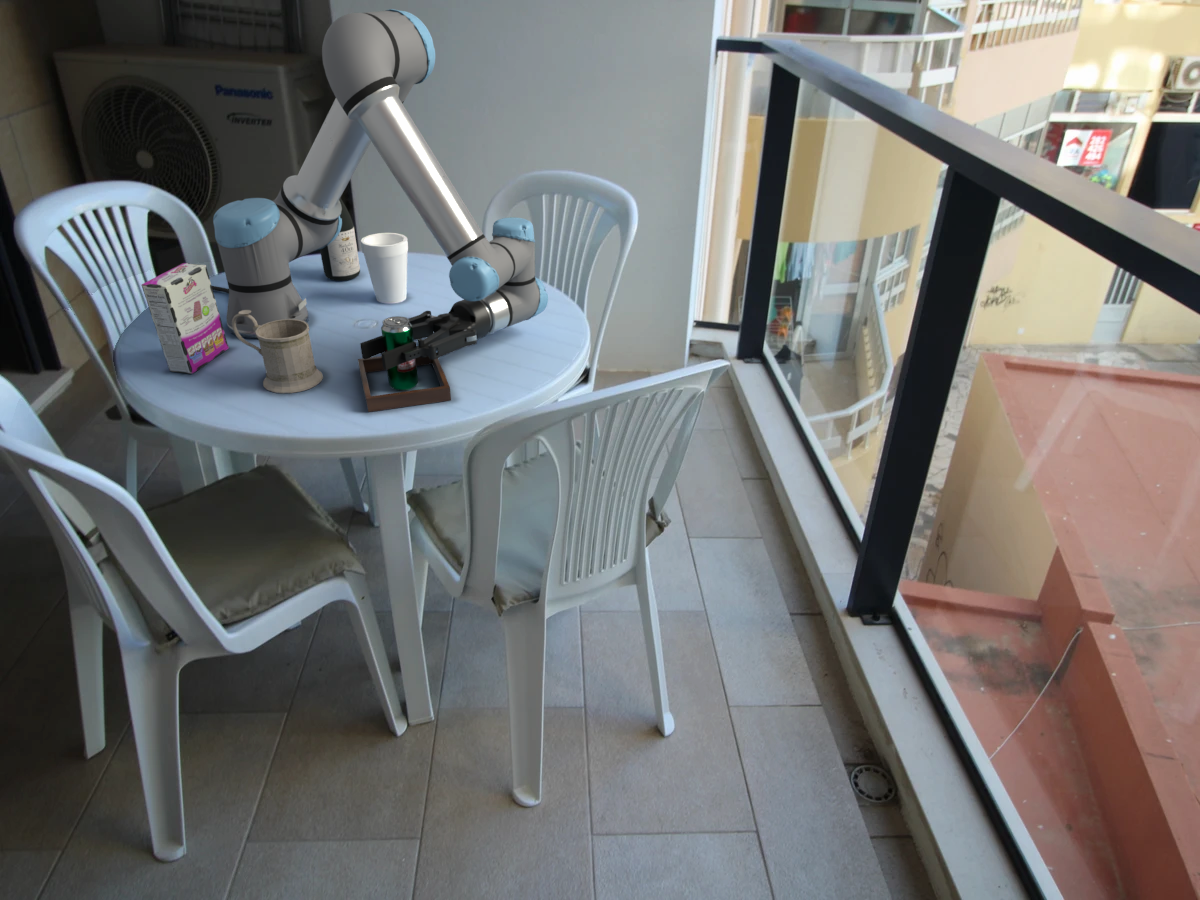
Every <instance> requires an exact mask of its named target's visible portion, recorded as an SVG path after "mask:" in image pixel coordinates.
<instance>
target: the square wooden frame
mask: <svg viewBox="0 0 1200 900" xmlns="http://www.w3.org/2000/svg"><path fill="white" fill-rule="evenodd" d="M439 360H440V359H439V358H437V359H434V360H431V359H429V356H427V357H425V358H421V357H418V358H416V363H417V367H419V366H426V365H427V366H428V365H432V367H433V370H434V373H435V375H436V378H437V380H438V382H439V383H438V384H439V385H440V386H435V387H428V388H420V389H411V390H406V391H399V392H398V391H397V392H392V393H385V394H378V395H371V391H370V387H369V382H368V378H367V373H373V372H383V371H386V370H385V369H383V363H382V356H381V355H380V356H379V355H377V356H373V357H370V358H368V359H363V358H362V357H361V358H357V364H358V369H359V375H360V380H361V384H362V388H363V393H364V394H363V395H364V398H365V402H366V407H367V408H366V409H367V412H368V413H373V412H381V411H385V410H386V411H387V410H393V409H400V408H406V407H414V406H422V405H428V404H435V403H442V402H447V401H448V402H449V401H452V394H451V393H452V392H451V387H450V386H451V385H450V384H449V381H448V379H447V377H446V374H445V371H444V369H443V367H442V364H441V363H440V361H439Z"/></svg>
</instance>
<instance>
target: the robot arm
mask: <svg viewBox="0 0 1200 900" xmlns="http://www.w3.org/2000/svg"><path fill="white" fill-rule="evenodd" d="M321 46H322V47H321V48H322V49H321V55H322V56H321V57H322V66H323V69H324V73H325V77H326V79H327V81H328V84H329V87H330V89H331V91H332V93H333V95H334V97H335V99H334V101H333V102H332V105H331V107H330V109H329V111H328V112H327V114H326V117H325V119H324V121H323V123H322V125H321V127H320V129H319V131H318V132H317V135H316V137H315V139H314V140H315V141H314V140H313V143H312V145H311V147H310V149H309V151H308V153H307V155H306V157H305V159H304V161H303V163H302V165H301V167H300V169H299V172H298V174H295V175H290V176H287V178H286V179H285V180H284V181H283V183H282V186H281V187H280V189H279V192H278V194H277V196H276V198H274V199H272V200H271V199H270V198H269V199H268V198H264V197H250V198H248V197H247V198H244V199H243V200H239V199H238V200H234V201H231V202H228V203H226V204H224V205H223V206H221V207H219V208H218V209H217V210H216V211H215V213H214V214H213V218H212V222H213V223H212V224H213V228H214V239H215V240H216V244H217V248H218V251H219V255H220V258H221V263H222V266H223V270H224V275H225V279H226V283H227V287H228V288H227V287H222V286H216V285H215V286H214V285H212V289H213V291H215V292H222V293H226V294H228V300H227V308H226V309H227V310H226V324H227V329H228V331H229V332H230V333H231V334H232V335H235V336H236V334H235V332H234V330H233V327H232V319H233V317H234V316H235V315H237V314H239V313H238V312H240V311H242V310H250V311H251V313H249V315H251V316H252V317H254V318H255V320H256V321H257V324H258V325H263V324H266V323H268V322H272V321H276V320H283V319H295V320H301V321H304V322H306V323H307V324H309V321H310V316H309V311H308V308H307V304H308V303H307V302H308V301H307V298H304V299H302V297H301V296H300V294H299V292H298V290H297V288H296V287H295V285H294V283H293V279H292V278H293V277H292V274H291V269H290V264H289V263H291V262H294V261H296V260H298V259H299V258H302V257H304V256H306V255H308V254H310V253H313V252H316V251H320V249H322V248H324V247H326V246H327V245H329V244H330V243H331V242H332V241H334V240H335V239H336V237H337V236H338V234H339V233H340V230H341V226H342V219H341V218H340V214H341V210H342V207H341V203H340V201H339V199H340V198H342V196H343V193H344V191H345V190H346V188H347V186H348V184H349V183H350V181H351V179H352V177H353V176H354V174H355V172H356V170H357V168H358V166H359V165H360V163H361V161H362V159H363V157H364V155H365V154H366V152H367V149H368V148H369V146H370V144H371V143H372V144H373V146H374V147H375V149H376V150H377V152H378V154H379V155H380V157H381V159H382V160H383V162H384V163H385V164H386V166H387V168H388V169H389V171H390V172H391V174H392V175H393V177H394V178H395V180H396V181H397V183H398V185H399V186H400V187H401V189H402V191H403V192H404V194H405V195H406V196H407V198H408V200H409V201H410V203H411V205H412V206H413V208H414V210H415V211H416V212H417V214H418V215H419V217H420V219H421V220H422V222H423V223H424V224H425V227H427V230H428V231H429V232H430V234H431V235H432V236H433V238H434V240H435V241H436V243H437V245H438V246H439V248H440V250H441V251H442V252H443V254H444V255H445V257H446V258H447V260H448V262H449V263H450V265H451V267H450V268H449V269H450V270H449V273H448V278H449V282H450V287H451V289H452V291H453V292H454V293H455V294H456V295H457V297H459V298H461V299H462V300H459V301H456V302H454V304H453V305H452V306H451V308H450V310H449V312H446V313H445V312H444V313H439V314H438V315H432V311H431V310H425V311H423V312H421V313H420V314H418V315H415V316H412V317H408V319H409V322H410V324H411V325H412V328H413V337H414V341H413V342H410V343H408V344H405V345H402V346H400V347H397V348H394V349H392V350H389V351H386V352H384V346H383V339H382V335H379V336H377V337H374V338H371V339H368V340H366V341H363V342H360V343H359V345H360V353H361V359H362V358H363V359H368V358H370V357H377V356H379V355H380V356H382V363H383V369H385V370H384V371H387V369H390V368H392V367H395V366H397V365H400V364H402V363H405V362H407V361H410V360H413V359H415V358H418V357H421V358H425V357H427V356H429V359H431V360H434V359H437V358H438V359H439V358H442V357H444V356H446V355H449V354H452V353H454V352H456V351H459V350H461V349H463V348H466V347H470V346H475V345H477V344H478V340H479V339H482V338H484V337H487V336H488V335H493V334H495V333H496V332H499V331H501V330H503V329H506V328H509V327H511V326H514V325H517V324H520V323H521V322H524V321H525V322H526V321H529V320H531V319H533V318H534V317H536V316H538V315H540V314H541V313H543V312H544V311H545V309H546V308H547V307H548V304H549V303H548V302H549V294H548V292H547V291H546V286H545V284H544V283H543V282H542V281H541V280H540V279H539V278H538V277H536V255H535V253H536V252H535V251H536V250H535V249H536V247H535V243H536V239H535V233H534V232H535V231H534V225H533V223H532V222H531V220H528V219H526V218H523V217H515V216H513V217H509V216H508V217H501V218H499V219H497V220H495V221H494V222H493V225H492V234H491V236H492V239H491V240H490V241H489V240H488V238H487V237H486V235H485V234H484V233H483V231H482V229H481V227H480V226H479V224H478V223H477V221H476V219H475V218H474V216H473V215H472V213H471V212H470V210H469V208H468V207H467V204H465V202H464V200H463V199H462V197H461V195H460V194H459V193H458V190H457V189H456V187H455V186H454V184H453V183H452V181H451V179H450V178H449V176H448V175H447V173H446V171H445V170H444V168H443V166H442V165H441V164H440V161H439V160H438V158H437V157H436V155H435V154H434V152H433V150H432V149H431V147H430V146H429V144H428V143H427V141H426V139H425V138H424V136H423V134H422V133H421V131H420V130H419V127H417V124H415V122H414V120H413V118H412V117H411V115H410V114H409V112H408V110H407V108H406V107H405V106H404V102H405V100H406V99H407V97H408V95H409V94H410V92H411V90H412V88H413V87H414V85H419V84H422V83H423V82H425V80H427V79H428V78H429V77H431V75H432V72H433V71H434V68H435V63H436V48H435V46H434V40H433V38H432V35H431V33H430V30H429V29H428V27H427V26H426V25H425V24H424V22H423V21H422V20H421V19H420V18H418V16H416V15H415V14H413V13H411V12H409V11H405V10H398V9H395V8H389V9H386V10H377V11H368V12H367V11H366V12H350V13H346V14H343V15H341V16H339V17H338V18H337V19H335V20H334V21H333V22H332V23H331V24H330V25H329V27H328V29H327V30H326V33H325V34H324V37H323V42H322V45H321ZM235 323H236V328H237V330H238V332H239V334H240V336H241V337H242V338H247V339H258V338H257V337H256V332H254V330H253V326H254V323H253V322H252V320H251V319H249V318H248V317H245V316H241V317H238V318H237V319H236V322H235ZM416 341H417V342H416Z"/></svg>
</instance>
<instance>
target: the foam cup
mask: <svg viewBox="0 0 1200 900" xmlns="http://www.w3.org/2000/svg"><path fill="white" fill-rule="evenodd" d="M360 246H361V247H360V248H361V253H362V254H363V256H364V259H365V264H366V267H367V270H368V274H369V278H370V281H371V285H372V288H373V292H374V295H375V298H376V301H377V302H378V303H380V304H384V305H385V304H387V305H393V304H399V303H402V302H404V301H406V300H407V294H408V293H407V292H408V251H409V242H408V237H407V236H406V235H405V234H402V233H397V232H379V233H373V234H367V235H366V236H364V237H362V238H361V240H360Z"/></svg>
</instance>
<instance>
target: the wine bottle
mask: <svg viewBox="0 0 1200 900" xmlns="http://www.w3.org/2000/svg"><path fill="white" fill-rule="evenodd" d="M314 141H315V139H314V140H313V142H314ZM339 201H340V203H341V207H342V210H341V214H340V218H341V219H342V226H341V230H340V233H339V234H338V236H337V237H336V239H335V240H334V241H332V242H331V243H330V244H329V245H327V246H326V247H324V248H322V249H319V251H320V257H321V263H322V269H323V273H324V276H325V277H326V278H327V279H328V280H331V281H335V282H346V281H351V280H355V279H356V278H358V277H359V276H360V274H361V266H360V259H359V252H358V246H357V240H356V239H357V238H356V233H355V225H354V222H353V220H352V216H351V214H350V212H349V210H348V208H347V206H346V204H345V203H344V201H343V199H342V197H340V199H339Z"/></svg>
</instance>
